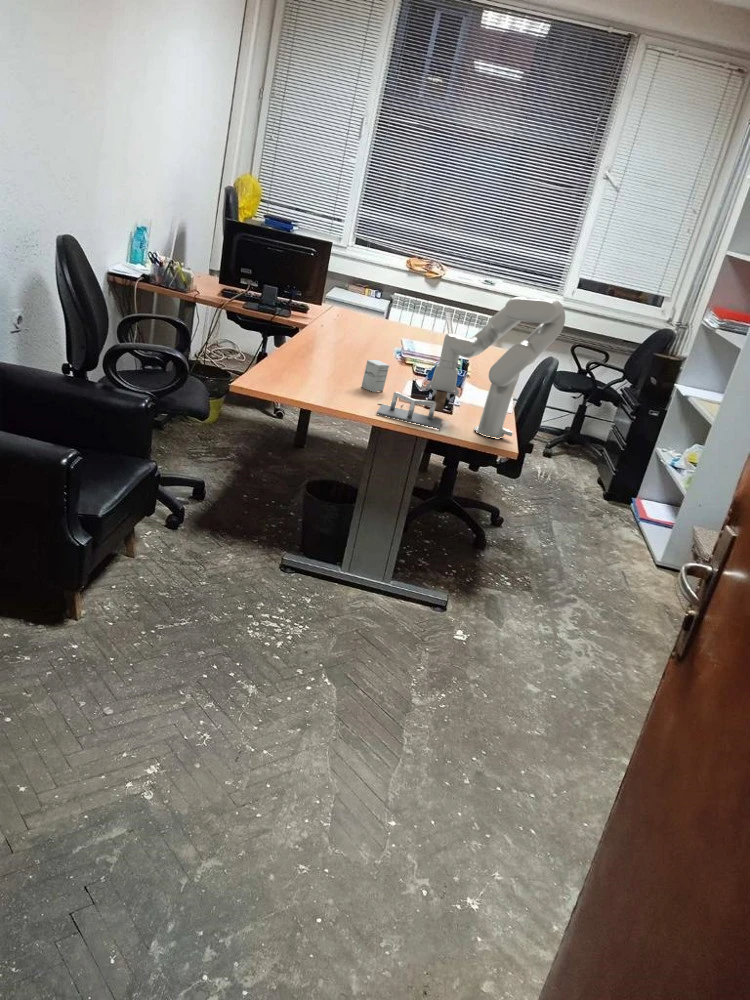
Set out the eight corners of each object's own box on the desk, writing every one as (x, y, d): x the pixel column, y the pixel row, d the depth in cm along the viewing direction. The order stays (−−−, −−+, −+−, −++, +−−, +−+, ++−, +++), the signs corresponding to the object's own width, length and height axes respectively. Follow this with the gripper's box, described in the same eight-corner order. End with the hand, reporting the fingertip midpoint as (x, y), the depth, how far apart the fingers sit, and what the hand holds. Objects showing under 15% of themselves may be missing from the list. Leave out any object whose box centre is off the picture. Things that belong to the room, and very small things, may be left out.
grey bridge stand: (432, 419, 312) (436, 401, 309) (430, 423, 306) (435, 405, 303) (390, 408, 313) (394, 390, 310) (387, 412, 307) (392, 394, 304)
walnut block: (443, 408, 323) (447, 390, 320) (442, 411, 319) (447, 393, 316) (433, 406, 323) (437, 388, 320) (432, 409, 319) (436, 390, 316)
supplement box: (360, 387, 338) (366, 359, 333) (372, 386, 343) (378, 359, 338) (371, 392, 334) (378, 365, 329) (383, 392, 339) (389, 364, 334)
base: (441, 422, 315) (442, 419, 315) (438, 431, 303) (439, 428, 303) (381, 406, 317) (382, 404, 316) (376, 414, 305) (377, 411, 304)
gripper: (468, 366, 317) (458, 408, 324) (429, 358, 318) (420, 399, 325) (467, 370, 310) (457, 412, 317) (427, 361, 311) (418, 403, 318)
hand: (438, 405), depth 321 cm, fingers closed on walnut block, 4 cm apart
